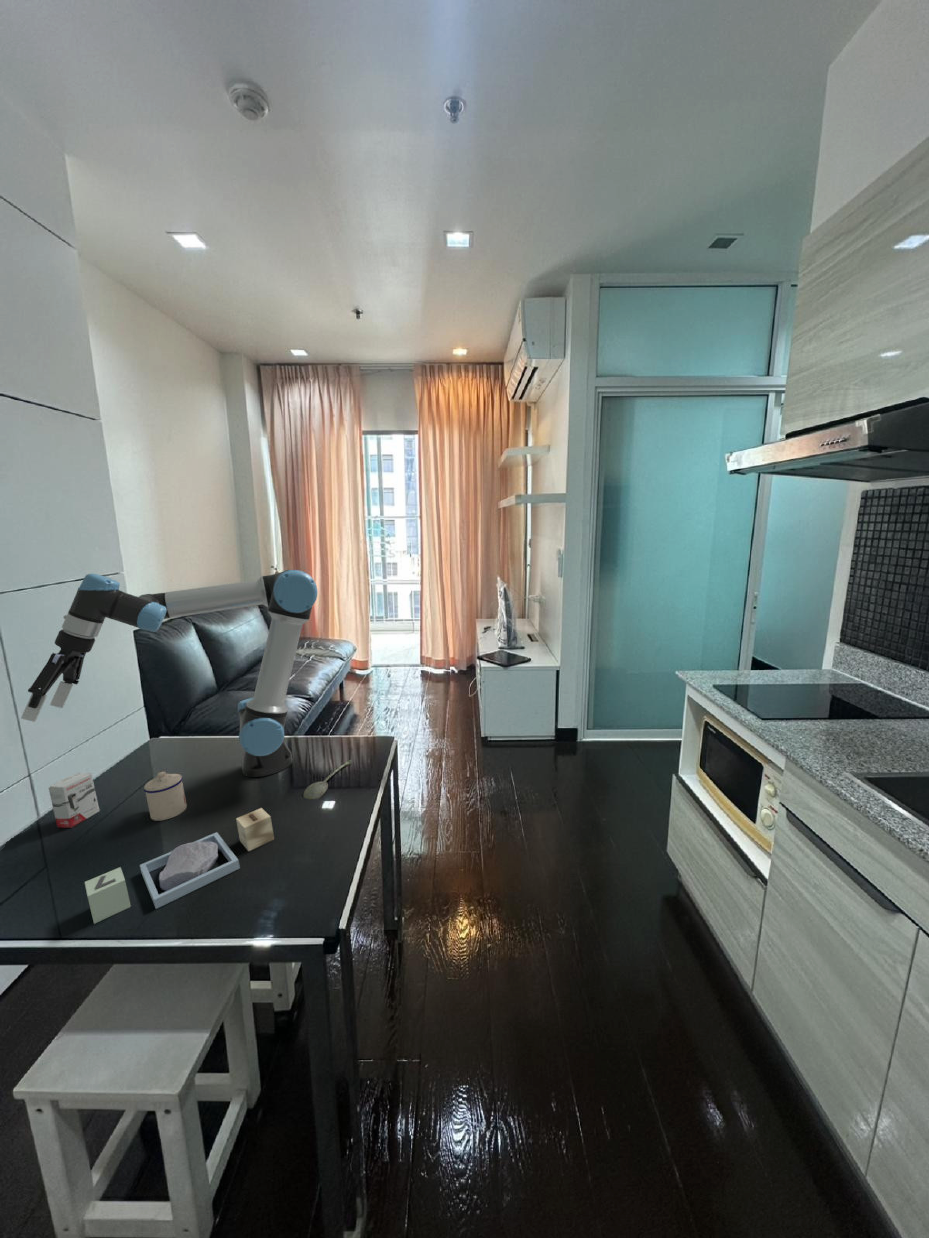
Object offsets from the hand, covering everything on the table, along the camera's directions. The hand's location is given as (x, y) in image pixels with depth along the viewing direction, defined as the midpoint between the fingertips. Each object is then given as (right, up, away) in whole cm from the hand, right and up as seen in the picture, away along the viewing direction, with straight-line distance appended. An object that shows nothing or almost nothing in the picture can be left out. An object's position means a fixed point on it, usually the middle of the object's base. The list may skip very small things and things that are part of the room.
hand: (43, 712), depth 122 cm
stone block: (+45, -33, -14) cm, 57 cm away
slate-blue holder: (+45, -32, -14) cm, 57 cm away
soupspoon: (+66, -25, +23) cm, 74 cm away
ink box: (-1, -32, +13) cm, 35 cm away
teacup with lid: (+23, -30, +13) cm, 40 cm away
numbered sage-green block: (+34, -35, -24) cm, 54 cm away
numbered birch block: (+55, -30, -5) cm, 63 cm away
